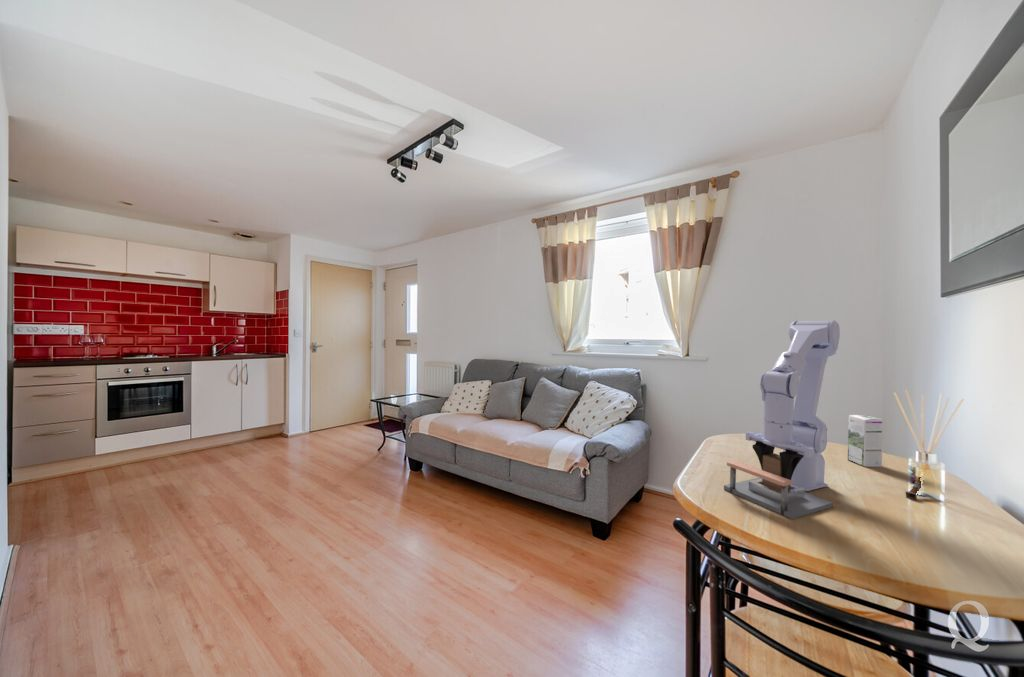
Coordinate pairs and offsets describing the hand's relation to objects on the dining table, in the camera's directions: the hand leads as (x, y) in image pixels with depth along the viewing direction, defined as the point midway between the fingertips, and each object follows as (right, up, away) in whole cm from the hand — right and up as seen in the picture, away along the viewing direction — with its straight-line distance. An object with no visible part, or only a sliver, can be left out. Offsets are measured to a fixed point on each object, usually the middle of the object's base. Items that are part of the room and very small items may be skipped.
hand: (776, 477), depth 90 cm
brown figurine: (+36, -6, +2) cm, 37 cm away
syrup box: (+44, -5, +25) cm, 51 cm away
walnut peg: (0, -3, 0) cm, 3 cm away
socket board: (0, -5, 0) cm, 5 cm away
